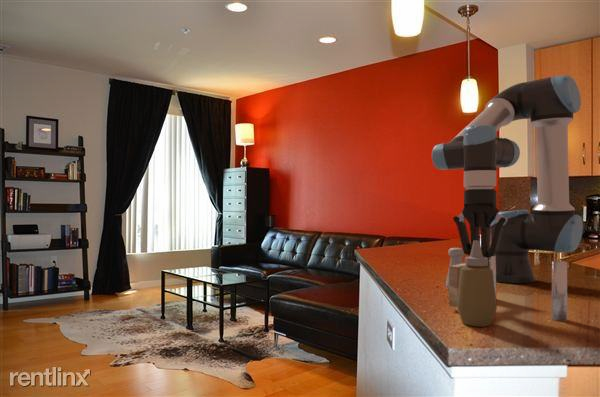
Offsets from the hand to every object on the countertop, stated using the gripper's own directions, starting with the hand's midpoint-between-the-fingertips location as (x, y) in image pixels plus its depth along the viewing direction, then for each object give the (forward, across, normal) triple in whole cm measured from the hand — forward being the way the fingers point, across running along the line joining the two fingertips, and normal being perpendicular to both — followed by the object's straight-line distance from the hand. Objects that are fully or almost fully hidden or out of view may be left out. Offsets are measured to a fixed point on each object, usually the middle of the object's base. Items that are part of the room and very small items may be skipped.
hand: (480, 284), depth 111 cm
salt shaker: (+6, +12, -14) cm, 20 cm away
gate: (+5, +3, -2) cm, 6 cm away
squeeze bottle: (+6, -4, +14) cm, 16 cm away
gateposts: (+6, -7, -8) cm, 12 cm away
